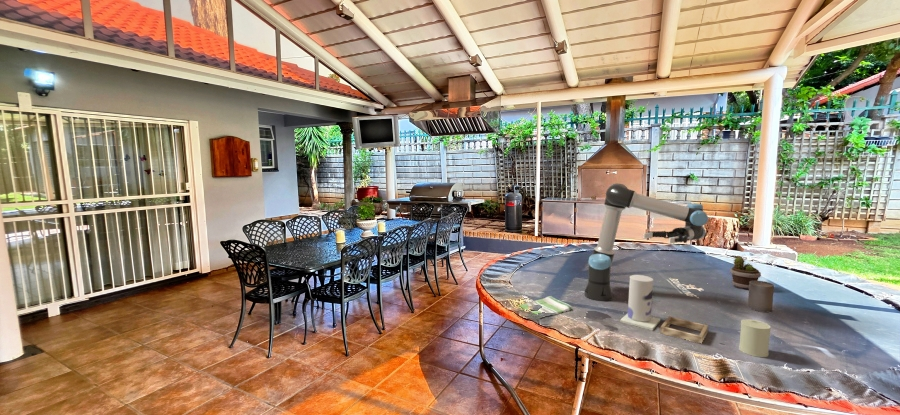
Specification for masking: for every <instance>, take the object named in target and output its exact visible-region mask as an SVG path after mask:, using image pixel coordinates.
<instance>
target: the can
mask: <svg viewBox="0 0 900 415" xmlns="http://www.w3.org/2000/svg"><path fill="white" fill-rule="evenodd" d="M771 328H772V327H771V325H769V323H766V322H763V321H760V320H756V319H752V318H751V319H748V318H747V319H741V321H740V334H739V335H740V336H739V346H738V349H739V351H740V352H743V353H744V354H747V355H749V356H753V357H756V358H767V357H769V349H770V348H769V347H770V338H771V337H770V335H771Z"/></svg>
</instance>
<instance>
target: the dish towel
mask: <svg viewBox="0 0 900 415" xmlns="http://www.w3.org/2000/svg"><path fill="white" fill-rule="evenodd" d="M532 305H541V306H542V308H540V309H539V310H538V311H531V312H532V313H534V314H537V315H538V313H542V312H545V313H561V312H564V313H566V311H567V312H569V311H571V310H573V307H572V305H570V304H568V303H566V302H563V301H562V300H558V299H557V298H555V297H553V296H552V295H549V296H546V297H544V298H540V299H536V300H534V301H528V302H525V303H522V304H519V305H518V307H521V308H522V309H526V310H528V307H529V306H532ZM561 314H562V313H561Z"/></svg>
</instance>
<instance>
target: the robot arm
mask: <svg viewBox="0 0 900 415" xmlns="http://www.w3.org/2000/svg"><path fill="white" fill-rule="evenodd" d="M603 205H604V207H605V211H604V215H603V220H602V224H601V229H600V233H599V236H598V241H597V246H595V247H594V248H593V251H592V254H591V255H590V256H589V257H588V272H587V273H588V275H587V276H588V279H587V280H588V281H587V284H586V287H585V288H584V296H585V297H586V298H587V299H590V300H593V301H601V302H606V301H608V302H609V301H611V300H613V299H614V292H613V290H612V286H611V269H612V266H613V261H614V256H615V251H614V249H613V248H614V245H615V241H616V235H617V233H618V228H619V224H620V219H621V216H622V211H625V210H626V208H628V209H631V208H635V209H638V210H642V211H646V212H650V213H651V214H652V213H653V214H657V215H660V216H662V217H663V216H664V217H668V218H672V219H674V220H679V221H682V222H685V223H684V225H685V226H680V227H675V228H673V229H672V230H670V231H666V230H658V231H657V230H655V231H652V230H651V231H647V232H645V233H643V234H642V236H643V237H642V239H652V238H664V239H668V244H675V243H683V244H686V243H687V242H689V241H697V240H700V239H702V238H704V237H705V236H706V230H705V228H704V227H703V226H705V225H706V224H707V222H709V217H708V214H707V213H706V212H705V211H704V205H703V204H701V203H688V204H686V206H685V205H681V204H677V203H673V202H670V201H667V200H663V199H659V198H655V197H651V196H648V195H644V194H640V193H637V192H636V190H632V189H629V188H628V187H627V186H626V184H623V183H613V184H611V185H610V186H609V187H608V188H607V190H606V191H605V199H604V203H603Z"/></svg>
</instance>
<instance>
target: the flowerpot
mask: <svg viewBox="0 0 900 415" xmlns="http://www.w3.org/2000/svg"><path fill="white" fill-rule="evenodd" d="M729 272H730V274H731V276H732V280H731V283H732V285H733V287H735V288H737V289H740V290H747V291H749V282H750V281H759V278H761V276H762V274H761V272H760V270H758V269H757V268H755V267H754V265H752V264H751V263H749V262H747V263H746V259H745V258H744V257H743V256H740V255H738V256H736V257H735V258H734V259H733V266H732V267H731V268H730V270H729Z"/></svg>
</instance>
